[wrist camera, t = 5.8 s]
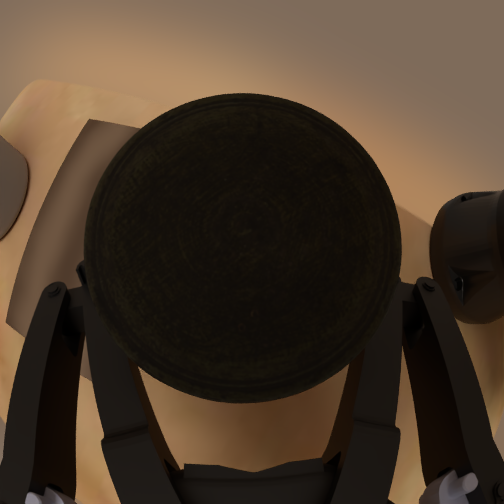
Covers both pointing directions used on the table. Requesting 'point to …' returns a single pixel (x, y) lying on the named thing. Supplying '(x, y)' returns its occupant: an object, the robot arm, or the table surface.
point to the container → (242, 248)
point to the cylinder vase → (11, 184)
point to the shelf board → (64, 223)
